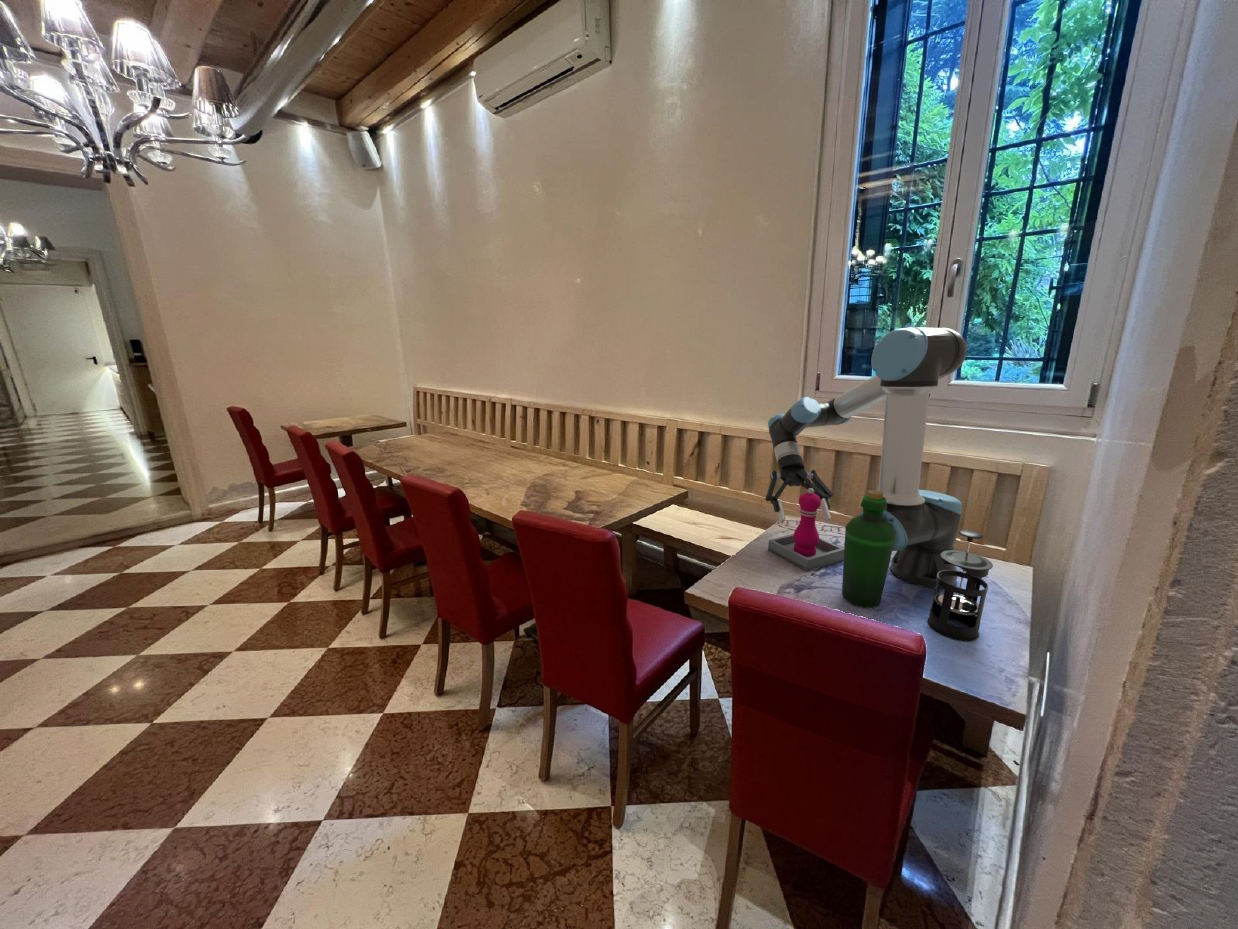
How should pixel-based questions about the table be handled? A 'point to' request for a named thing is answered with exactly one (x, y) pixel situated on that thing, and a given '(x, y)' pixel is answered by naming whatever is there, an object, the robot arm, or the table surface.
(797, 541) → the pepper mill
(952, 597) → the french press
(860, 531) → the bottle
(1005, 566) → the table surface
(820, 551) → the tray
